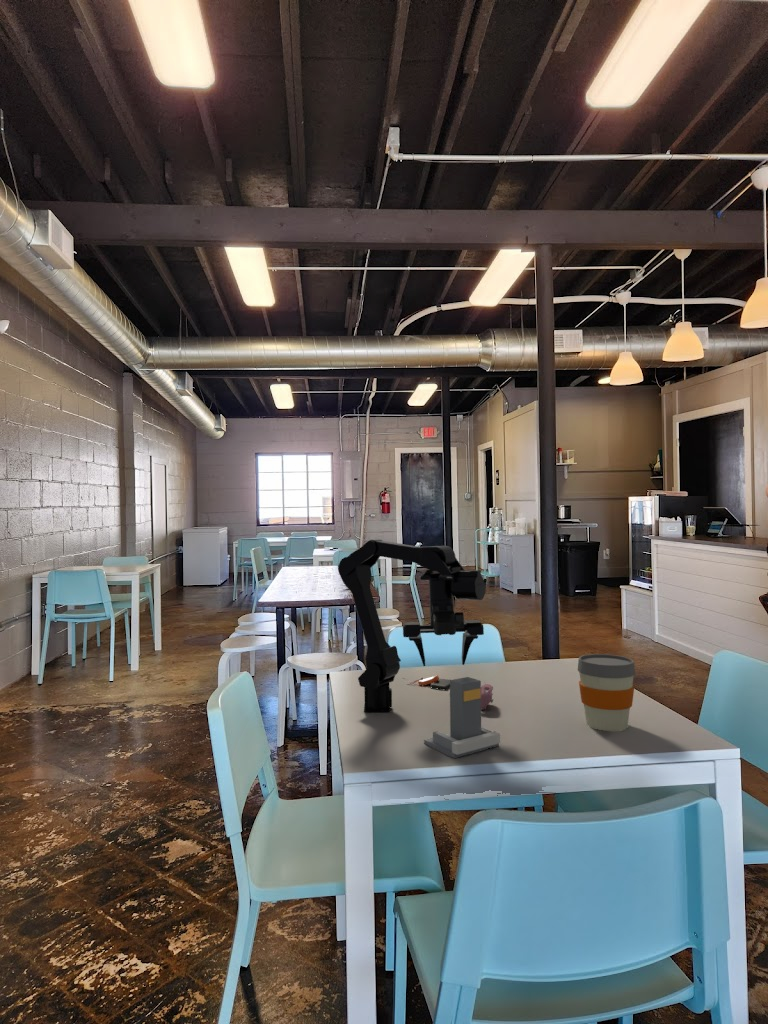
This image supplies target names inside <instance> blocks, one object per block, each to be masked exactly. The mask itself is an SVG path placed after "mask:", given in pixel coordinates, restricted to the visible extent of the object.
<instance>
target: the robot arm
mask: <svg viewBox="0 0 768 1024" xmlns="http://www.w3.org/2000/svg"><path fill="white" fill-rule="evenodd" d="M380 557H381V558H382V557H383V558H388V559H392V560H393V559H394V560H398V561H399V560H400V561H406V562H409V563H410V562H411V563H415V564H416V565H418V566H420V567H422V568H425V569H426V571H425V572H424V573H423V574H422V575H421V576H420V577H419V578H420V580H421V581H428V589H429V590H428V594H429V595H428V596H429V599H428V600H429V624H420V621H405V622H404V623H403V624H402V636H403V638H408V640H409V641H410V642H413V643H414V645H415V646H416V648H417V651H418V654H419V656H420V659H421V662H422V666H423V667H426V657H425V651H424V645H423V639H422V634H432V633H433V634H434V635H436V636H442V635H449V636H454V635H456V633H462V632H463V633H462V645H461V664H462V665H463V666H465V664H466V660H467V656H468V653H469V650H470V647H471V645H472V643H473V641H474V640H476V639H479V636H483V635H484V633H485V632H484V629H485V628H484V624H483V623H482V622H481V621H480V620H479V619H465V615H464V612H463V611H461V612H458V611H457V612H455V606H454V605H455V604H454V603H455V601H454V599H456V600H462V601H463V600H464V601H467V600H468V601H482V600H483V599H484V597H485V596H486V595H485V594H486V583H485V580H484V578H483V576H482V571H481V570H480V569H479V570H478V569H477V570H476V569H475V570H465V569H464V567H463V566H462V564H461V563H460V561H458V559H457V557H456V554H455V551H454V549H453V548H452V547H451V546H448V545H434V546H433V545H432V546H418V545H417V546H416V545H411V544H403V543H398V542H391V541H385V540H382V539H369V540H367V541H366V542H365V543H364V544H363V545H362V546H360V547H359V548H358V549H355V551H352V552H351V553H350V554H349V555H348V556H344V557H343V558H341V559H340V561H339V563H338V566H337V571H338V574H339V576H340V579H341V580H342V583H343V584H344V585H345V587H347V589H348V590H349V591H350V593H351V595H352V599H353V601H354V605H355V609H356V612H357V616H358V618H359V622H360V625H361V630H362V633H363V636H364V640H365V644H366V652H365V654H366V655H365V660H364V661H365V666H366V669H365V670H364V671H363V672H362V674H360V676H359V677H357V678H358V679H357V680H358V683H359V686H360V687H361V688H362V687H363V688H364V691H363V692H364V706H363V712H364V713H378V712H379V713H381V712H382V713H383V712H384V713H385V712H386V713H387V712H388V713H389V712H391V708H392V707H393V698H392V697H393V696H392V695H393V694H392V693H393V690H392V688H390V683H392V682H394V680H395V677H396V675H397V674H398V673H399V670H401V666H400V664H401V663H400V662H401V661H402V659H401V658H400V656H399V654H398V648H397V646H396V645H392V646H391V645H390V644H389V643H388V642H387V640H386V638H385V634H384V630H383V627H382V624H381V620H380V616H379V614H378V610H377V607H376V603H375V599H374V596H373V594H372V590H371V583H372V567H373V566H375V565H376V564H377V562H378V561H379V559H380ZM454 597H455V598H454Z"/></svg>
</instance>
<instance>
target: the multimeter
mask: <svg viewBox="0 0 768 1024" xmlns="http://www.w3.org/2000/svg"><path fill="white" fill-rule="evenodd" d="M450 680H451V679H445V678H440V677H439V675H433V676H431V677H427V678H423V677H421V678H420V679H417V680H414V681H412V682H410V684H411V685H413V684H416V682H418V685H419V686H420V685H425V686H427V685H430V688H431V687H432V688H438V689H437V690H440V689H445V690H444V691H446V689H447V690H448V689H450V688H449V687H450ZM432 688H431V689H432Z"/></svg>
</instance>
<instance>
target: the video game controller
mask: <svg viewBox="0 0 768 1024" xmlns="http://www.w3.org/2000/svg"><path fill="white" fill-rule="evenodd" d="M493 690H494V686H493V685H491V684H488V683H486V682H485V683H484V684H483V685H481V711H482V710H483V711H486V708H487V707H488V705H489V704H492V703H493V702H494V698H493V694H494V693H493Z"/></svg>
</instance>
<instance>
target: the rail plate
mask: <svg viewBox="0 0 768 1024" xmlns="http://www.w3.org/2000/svg"><path fill="white" fill-rule="evenodd" d="M423 744H424V745H426V746H428V747H430V748H433V749H435V750H437V751H439V752H441V753H443V754H445V755H447V756H449V757H451V758H453V759H456V758H459V757H463V755H464V756H467V754H468V755H471V754H474V752H475V753H478V752H477V751H479V752H482V751H485V749H486V750H489V749H488V748H490V749H492V747H493V748H497V747H499V746H500V744H501V733H500V732H497V731H491V730H489V729H486V728H484V727H482V726H481V735H479V736H475V737H471V738H467V739H463V740H456V739H454V738H452V737H450V733H447V734H444V733H443V732H441V731H439V730H436V731H432V737H429V738H426V739H424V740H423ZM496 746H497V747H496ZM481 750H482V751H481ZM470 753H471V754H470Z"/></svg>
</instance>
